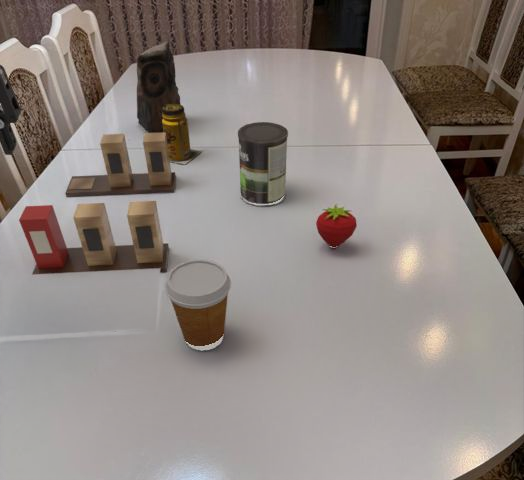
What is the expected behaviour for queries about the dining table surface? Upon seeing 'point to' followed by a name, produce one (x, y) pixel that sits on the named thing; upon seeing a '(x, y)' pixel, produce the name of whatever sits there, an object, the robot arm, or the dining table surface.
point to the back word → (128, 170)
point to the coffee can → (262, 162)
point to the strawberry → (336, 225)
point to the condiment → (177, 134)
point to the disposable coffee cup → (199, 299)
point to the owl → (155, 86)
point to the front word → (102, 243)
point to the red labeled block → (44, 236)
